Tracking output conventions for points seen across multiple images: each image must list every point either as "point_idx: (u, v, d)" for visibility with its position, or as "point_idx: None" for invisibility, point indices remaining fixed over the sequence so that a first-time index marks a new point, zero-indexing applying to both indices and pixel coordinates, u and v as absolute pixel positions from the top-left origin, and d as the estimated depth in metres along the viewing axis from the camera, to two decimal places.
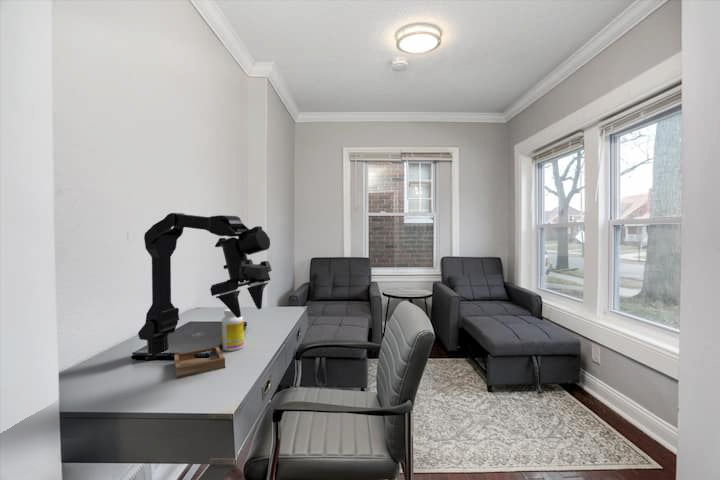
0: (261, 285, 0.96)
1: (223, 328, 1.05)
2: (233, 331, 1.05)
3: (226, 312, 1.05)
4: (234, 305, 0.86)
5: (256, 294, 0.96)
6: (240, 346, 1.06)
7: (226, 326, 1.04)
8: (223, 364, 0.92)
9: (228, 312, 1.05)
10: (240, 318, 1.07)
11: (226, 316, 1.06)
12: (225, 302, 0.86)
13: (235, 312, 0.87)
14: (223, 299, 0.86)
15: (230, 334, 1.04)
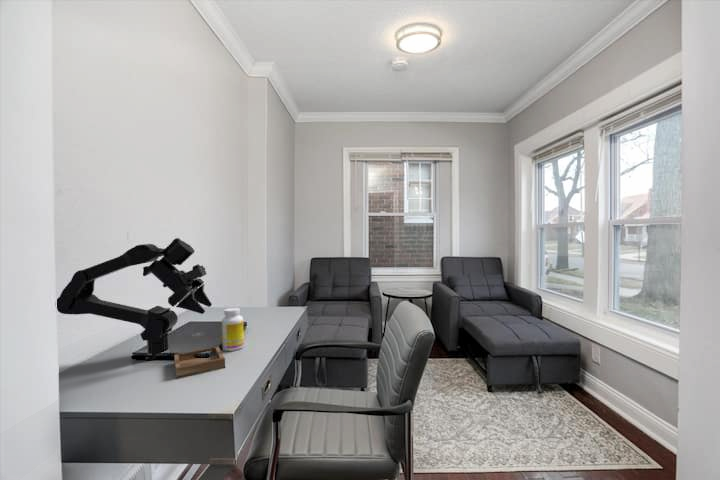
0: (201, 287, 1.09)
1: (223, 328, 1.05)
2: (233, 331, 1.05)
3: (226, 312, 1.05)
4: (195, 304, 0.99)
5: (201, 296, 1.09)
6: (240, 346, 1.06)
7: (226, 326, 1.04)
8: (223, 364, 0.92)
9: (228, 312, 1.05)
10: (240, 318, 1.07)
11: (226, 316, 1.06)
12: (186, 307, 0.98)
13: (199, 309, 1.00)
14: (183, 305, 0.98)
15: (229, 334, 1.04)
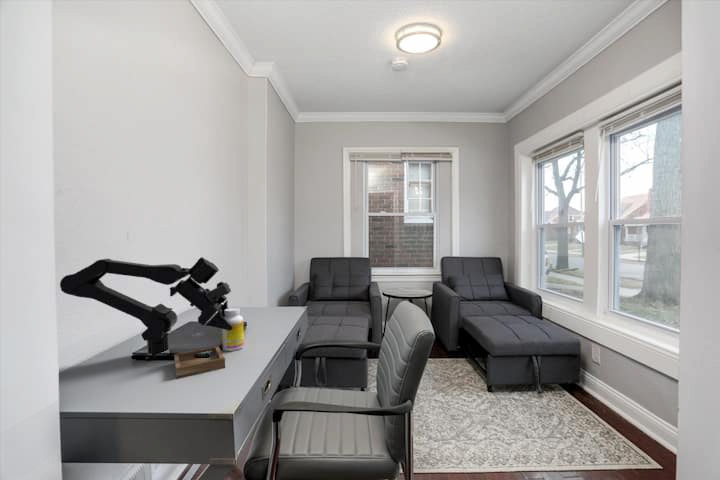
0: (225, 303, 1.12)
1: None
2: (233, 331, 1.05)
3: (226, 312, 1.05)
4: (223, 322, 1.01)
5: None
6: (240, 346, 1.06)
7: None
8: (223, 364, 0.92)
9: (228, 312, 1.05)
10: (240, 318, 1.07)
11: (226, 316, 1.06)
12: (215, 325, 1.00)
13: (227, 326, 1.02)
14: (212, 324, 1.00)
15: (229, 334, 1.04)
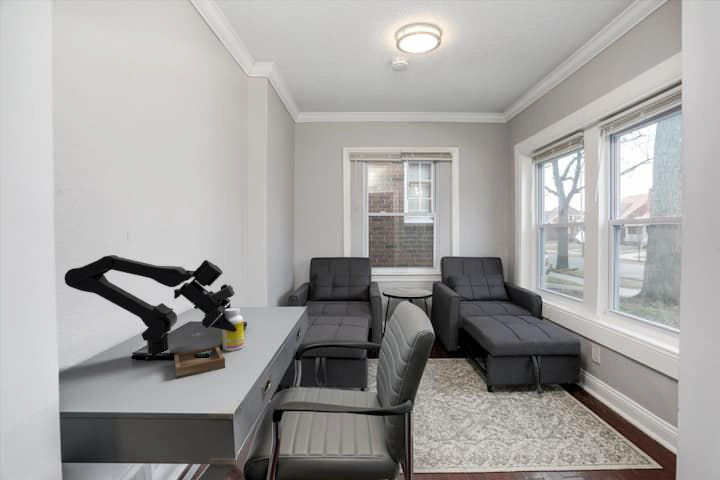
0: (228, 307, 1.11)
1: None
2: None
3: (226, 312, 1.05)
4: (228, 323, 1.03)
5: None
6: (240, 346, 1.06)
7: None
8: (223, 364, 0.92)
9: (228, 312, 1.05)
10: (240, 318, 1.07)
11: (226, 316, 1.06)
12: (219, 326, 1.02)
13: (231, 328, 1.04)
14: (216, 325, 1.01)
15: (229, 334, 1.04)
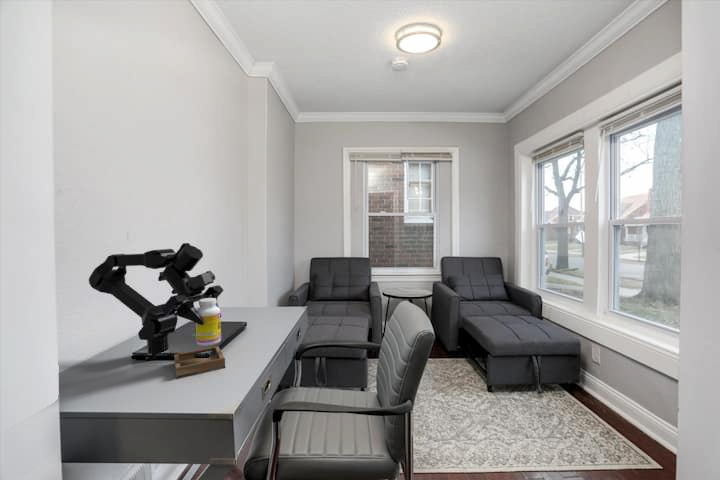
0: (212, 296, 1.01)
1: None
2: None
3: (199, 302, 0.95)
4: (193, 314, 0.92)
5: None
6: (210, 342, 0.94)
7: None
8: (223, 364, 0.92)
9: (199, 302, 0.95)
10: (212, 311, 0.95)
11: None
12: (185, 316, 0.93)
13: (198, 320, 0.93)
14: (182, 314, 0.93)
15: (198, 327, 0.94)
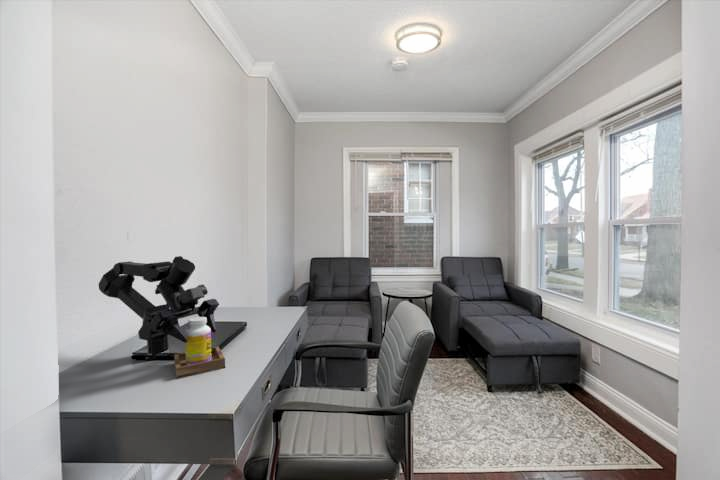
0: (208, 310, 0.99)
1: None
2: (189, 344, 0.91)
3: None
4: (177, 331, 0.89)
5: (208, 320, 0.99)
6: None
7: None
8: (223, 364, 0.92)
9: (189, 321, 0.93)
10: (200, 331, 0.92)
11: None
12: (170, 333, 0.90)
13: (181, 337, 0.89)
14: (167, 331, 0.90)
15: (187, 347, 0.92)
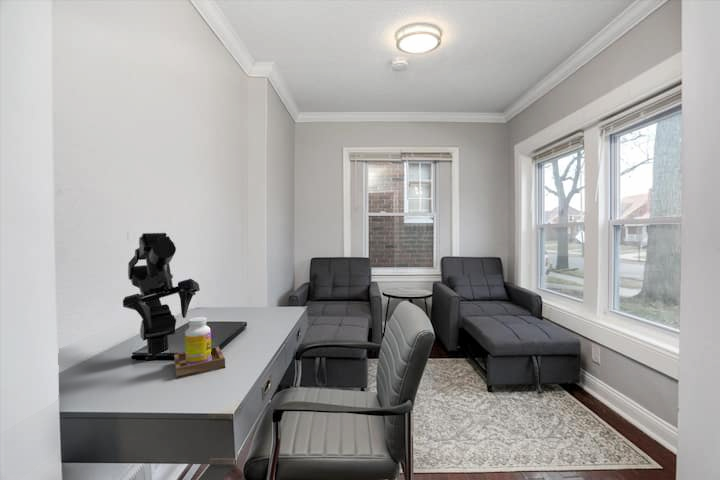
0: None
1: None
2: (189, 345, 0.91)
3: None
4: None
5: None
6: None
7: (185, 337, 0.92)
8: (223, 364, 0.92)
9: (188, 322, 0.93)
10: (200, 331, 0.92)
11: None
12: None
13: None
14: None
15: (187, 347, 0.92)
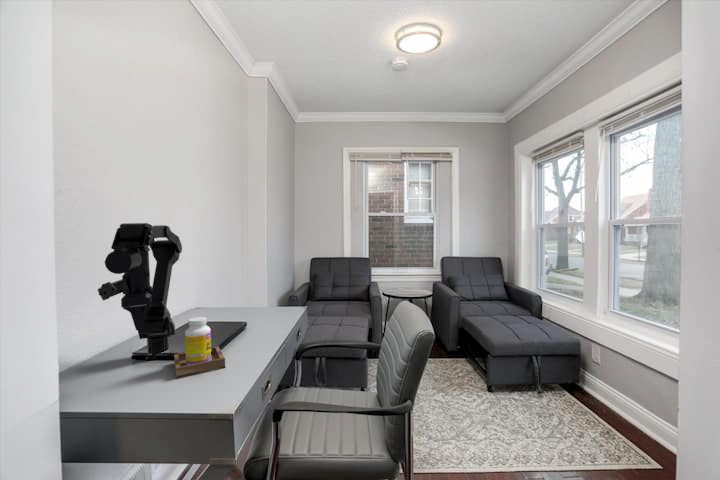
0: None
1: None
2: (189, 345, 0.91)
3: None
4: None
5: None
6: None
7: (185, 337, 0.92)
8: (223, 364, 0.92)
9: (189, 322, 0.93)
10: (200, 331, 0.92)
11: None
12: None
13: None
14: None
15: (187, 347, 0.92)
